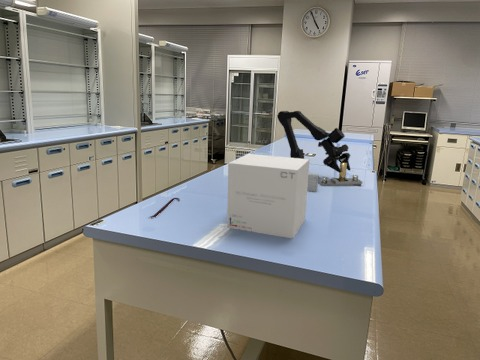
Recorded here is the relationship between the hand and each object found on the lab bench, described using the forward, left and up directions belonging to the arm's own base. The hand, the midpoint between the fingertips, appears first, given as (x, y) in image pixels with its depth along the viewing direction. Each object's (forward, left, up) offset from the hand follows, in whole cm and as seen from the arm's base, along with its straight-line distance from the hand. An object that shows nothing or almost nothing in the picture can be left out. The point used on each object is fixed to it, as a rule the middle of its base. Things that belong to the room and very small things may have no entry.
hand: (345, 171), depth 202 cm
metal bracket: (-2, +1, -8) cm, 8 cm away
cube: (-53, -58, -8) cm, 79 cm away
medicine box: (-23, -11, -8) cm, 26 cm away
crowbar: (-93, -39, -8) cm, 101 cm away
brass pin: (-1, +1, -8) cm, 8 cm away
